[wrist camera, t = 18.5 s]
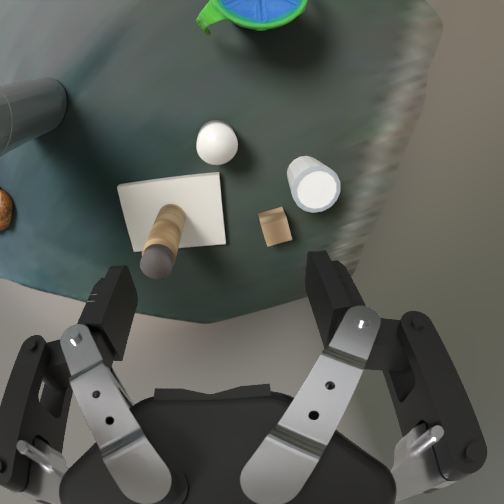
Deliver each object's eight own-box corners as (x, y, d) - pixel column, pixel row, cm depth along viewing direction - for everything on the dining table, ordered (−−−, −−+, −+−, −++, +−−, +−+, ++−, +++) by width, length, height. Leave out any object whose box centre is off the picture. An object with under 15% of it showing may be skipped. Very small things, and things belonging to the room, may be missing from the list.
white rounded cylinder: (220, 160, 41) (222, 172, 37) (191, 142, 39) (188, 151, 35) (241, 131, 39) (246, 140, 35) (211, 112, 37) (211, 118, 33)
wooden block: (264, 233, 49) (267, 246, 46) (258, 213, 47) (260, 225, 44) (287, 227, 49) (292, 239, 46) (282, 206, 47) (286, 217, 43)
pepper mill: (160, 230, 46) (143, 281, 35) (155, 205, 43) (134, 252, 33) (187, 227, 46) (176, 279, 35) (183, 202, 43) (169, 250, 33)
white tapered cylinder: (300, 201, 46) (312, 222, 41) (273, 171, 43) (281, 188, 37) (333, 175, 44) (350, 192, 38) (308, 143, 41) (322, 155, 35)
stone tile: (135, 247, 49) (134, 251, 48) (119, 184, 42) (117, 187, 41) (225, 240, 49) (225, 244, 48) (219, 172, 43) (219, 174, 42)
